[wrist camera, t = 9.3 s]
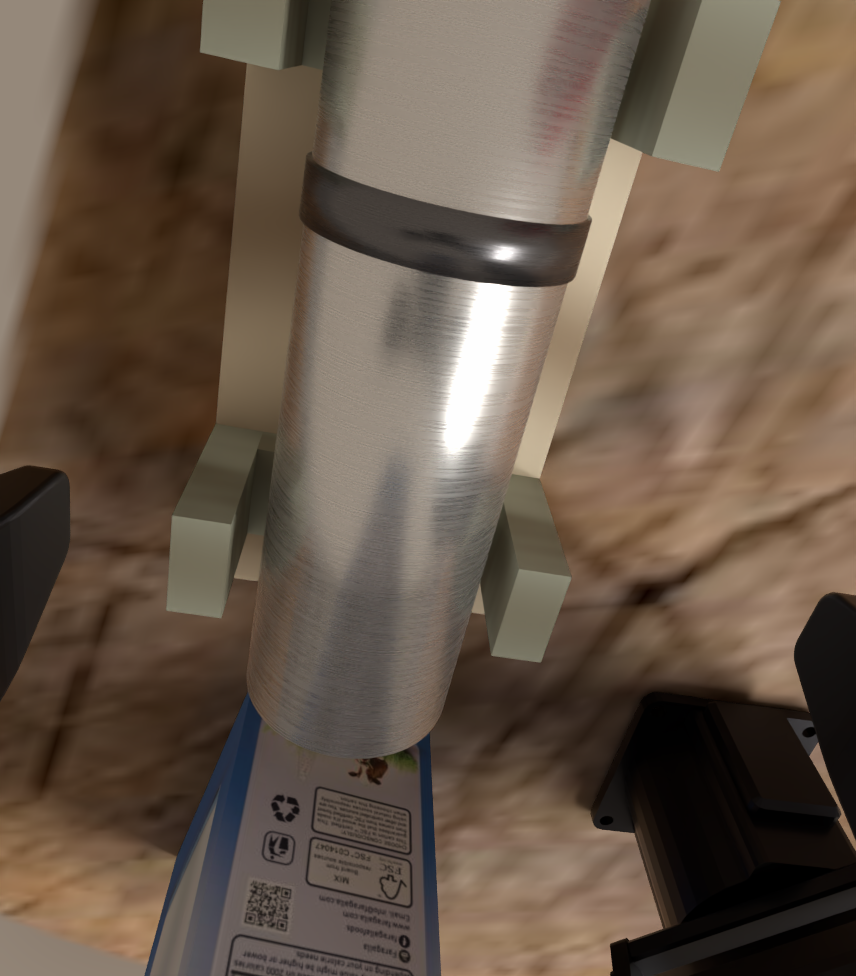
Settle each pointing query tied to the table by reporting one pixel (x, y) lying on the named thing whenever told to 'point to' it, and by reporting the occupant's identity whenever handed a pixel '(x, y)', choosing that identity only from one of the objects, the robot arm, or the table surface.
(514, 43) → the tube
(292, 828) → the milk carton
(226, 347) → the collar cradle
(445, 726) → the table surface
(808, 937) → the robot arm
